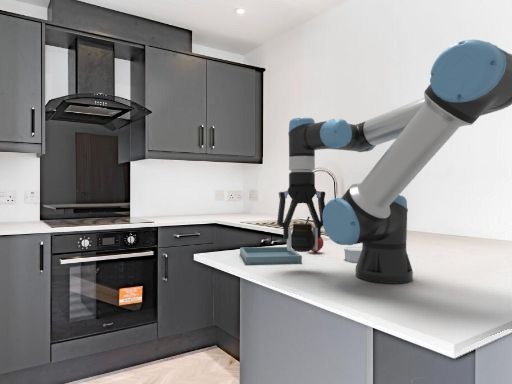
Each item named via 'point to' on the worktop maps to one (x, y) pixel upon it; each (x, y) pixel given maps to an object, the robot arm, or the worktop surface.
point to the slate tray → (269, 256)
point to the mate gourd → (302, 237)
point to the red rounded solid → (319, 245)
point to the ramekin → (352, 253)
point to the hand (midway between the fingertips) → (302, 249)
